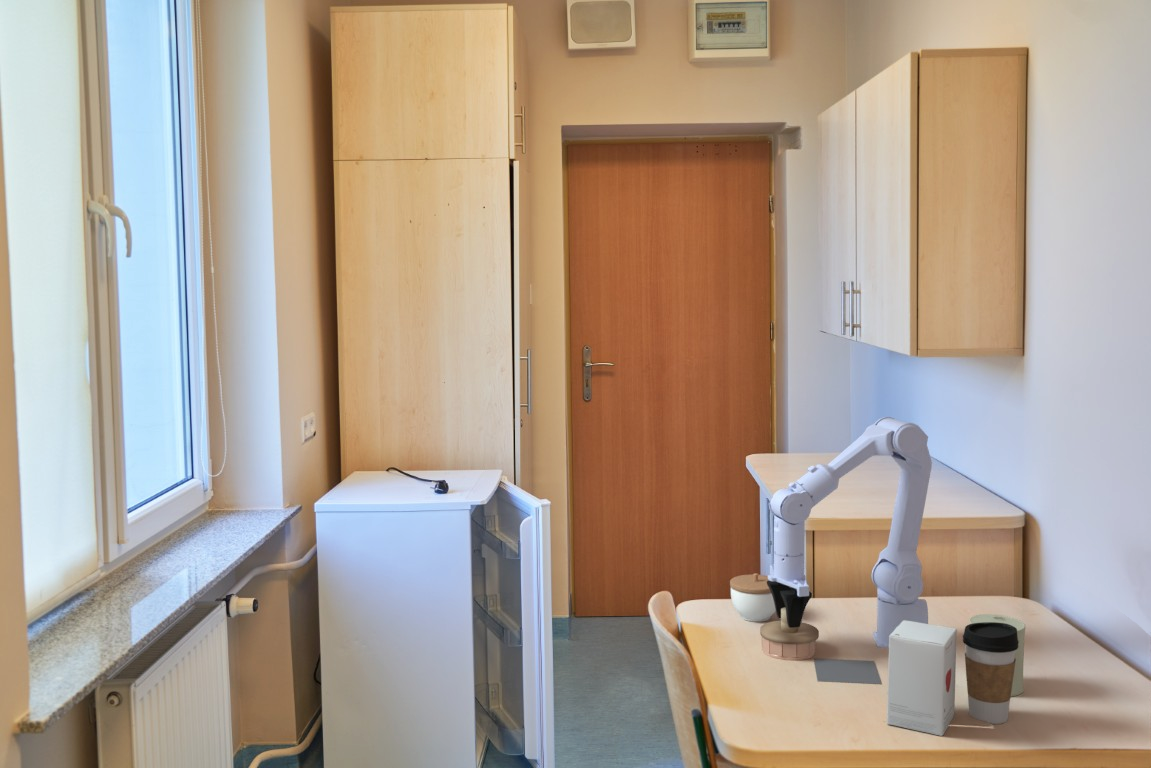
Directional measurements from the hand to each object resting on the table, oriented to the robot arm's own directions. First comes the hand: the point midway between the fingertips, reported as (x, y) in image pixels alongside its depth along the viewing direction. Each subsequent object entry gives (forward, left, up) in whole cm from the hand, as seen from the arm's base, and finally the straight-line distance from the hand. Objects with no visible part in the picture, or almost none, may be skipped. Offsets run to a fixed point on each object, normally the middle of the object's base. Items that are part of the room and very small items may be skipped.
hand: (788, 622), depth 198 cm
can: (-35, +12, -6) cm, 37 cm away
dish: (0, 0, -6) cm, 6 cm away
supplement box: (-20, +28, -6) cm, 35 cm away
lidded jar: (+6, -20, -6) cm, 22 cm away
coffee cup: (-31, +25, -6) cm, 40 cm away
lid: (0, 0, -2) cm, 2 cm away
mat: (-10, +9, -6) cm, 15 cm away
